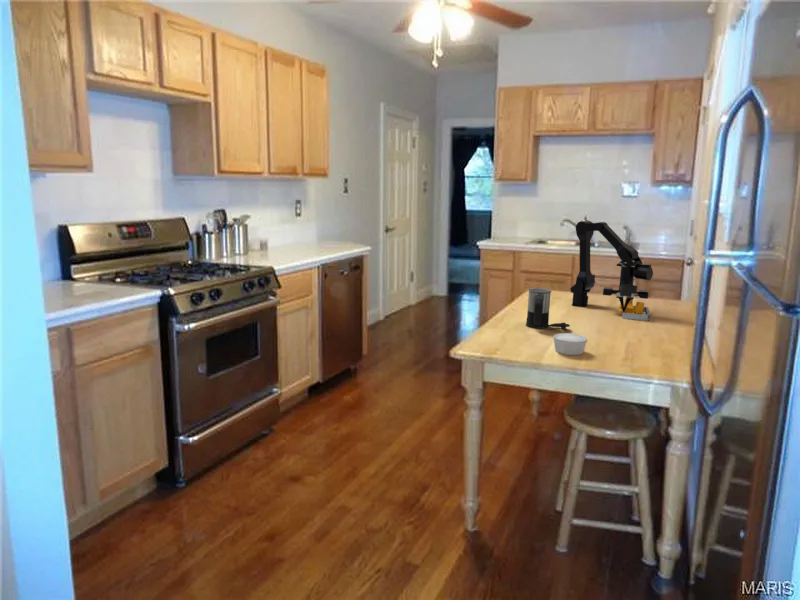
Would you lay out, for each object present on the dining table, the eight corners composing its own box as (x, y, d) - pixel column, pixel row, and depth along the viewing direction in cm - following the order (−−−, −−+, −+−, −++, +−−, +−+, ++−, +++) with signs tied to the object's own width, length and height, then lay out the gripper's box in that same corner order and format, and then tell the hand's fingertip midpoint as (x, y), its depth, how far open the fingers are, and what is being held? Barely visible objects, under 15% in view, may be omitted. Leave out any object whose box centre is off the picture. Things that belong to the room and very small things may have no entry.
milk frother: (522, 323, 245) (525, 287, 242) (560, 323, 246) (563, 288, 243) (532, 332, 231) (535, 294, 228) (572, 332, 232) (575, 295, 229)
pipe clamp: (618, 310, 271) (622, 296, 269) (627, 311, 271) (630, 297, 270) (632, 316, 259) (635, 302, 258) (641, 317, 260) (644, 303, 258)
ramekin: (548, 347, 211) (549, 332, 210) (578, 347, 212) (580, 333, 211) (558, 356, 200) (559, 341, 199) (590, 356, 201) (592, 341, 200)
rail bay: (622, 318, 257) (622, 312, 256) (621, 310, 273) (622, 304, 273) (649, 321, 253) (650, 315, 252) (647, 312, 270) (648, 307, 269)
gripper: (604, 278, 257) (600, 313, 260) (650, 281, 251) (646, 317, 254) (604, 274, 267) (601, 308, 270) (649, 277, 261) (645, 312, 264)
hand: (623, 311), depth 264 cm, fingers closed
